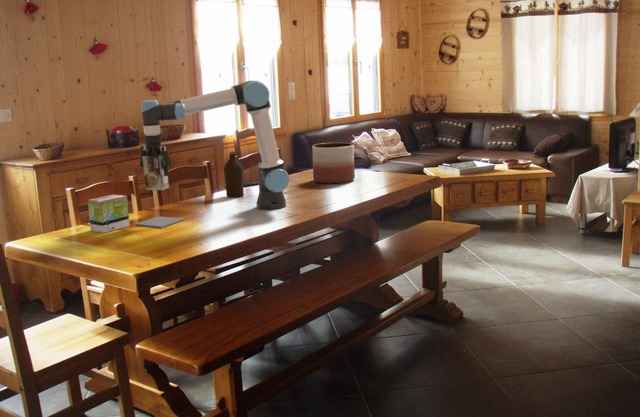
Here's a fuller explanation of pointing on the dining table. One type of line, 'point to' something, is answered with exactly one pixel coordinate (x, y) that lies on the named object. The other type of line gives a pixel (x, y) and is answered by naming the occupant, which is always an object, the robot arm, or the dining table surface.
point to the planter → (333, 163)
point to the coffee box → (153, 173)
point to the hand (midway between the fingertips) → (156, 182)
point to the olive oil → (233, 177)
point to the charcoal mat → (160, 222)
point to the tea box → (108, 213)
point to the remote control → (250, 184)
